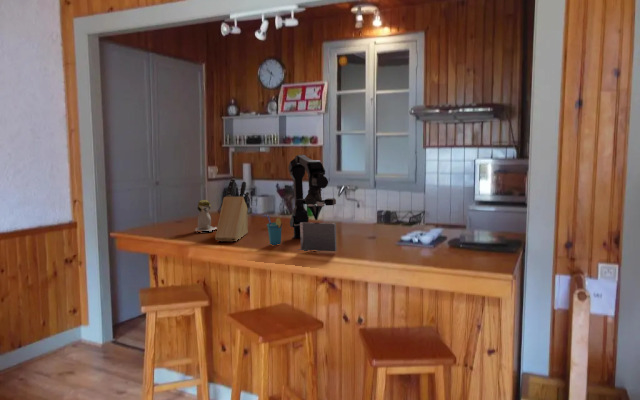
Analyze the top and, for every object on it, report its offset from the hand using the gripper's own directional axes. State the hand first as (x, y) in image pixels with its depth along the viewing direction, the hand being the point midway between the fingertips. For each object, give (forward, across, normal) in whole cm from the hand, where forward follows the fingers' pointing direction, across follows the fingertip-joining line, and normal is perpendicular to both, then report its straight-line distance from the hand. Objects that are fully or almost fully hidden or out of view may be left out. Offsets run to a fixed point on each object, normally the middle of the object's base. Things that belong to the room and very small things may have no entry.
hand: (316, 220), depth 228 cm
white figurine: (+11, -78, +30) cm, 85 cm away
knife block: (+12, -54, +20) cm, 59 cm away
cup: (+13, -24, +4) cm, 28 cm away
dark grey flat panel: (+13, +3, -8) cm, 15 cm away
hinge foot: (+14, -5, -8) cm, 16 cm away
